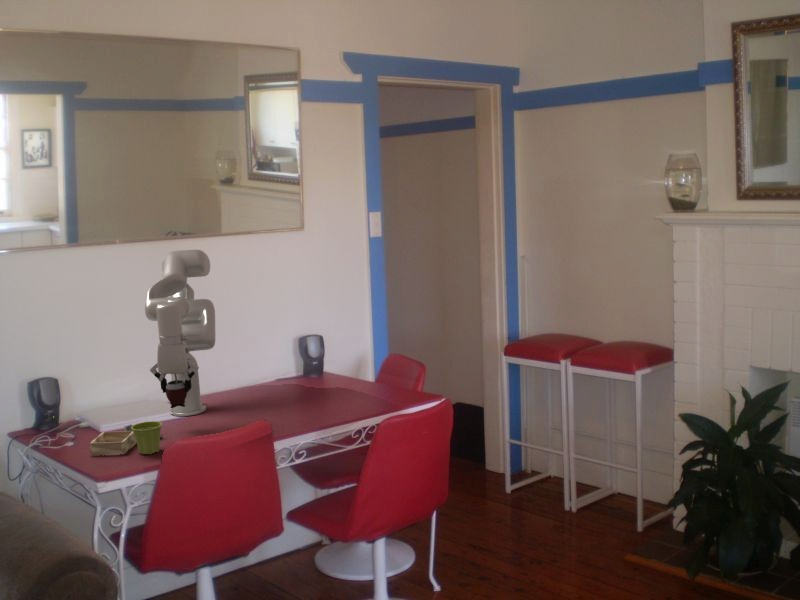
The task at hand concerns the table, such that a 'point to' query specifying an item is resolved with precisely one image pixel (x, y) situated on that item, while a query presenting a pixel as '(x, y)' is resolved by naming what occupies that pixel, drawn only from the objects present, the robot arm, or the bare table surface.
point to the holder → (112, 443)
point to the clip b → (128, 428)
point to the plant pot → (147, 436)
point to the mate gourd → (176, 392)
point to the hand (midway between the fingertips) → (176, 390)
